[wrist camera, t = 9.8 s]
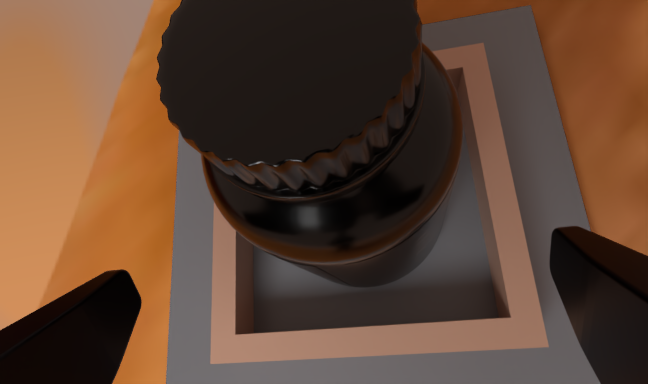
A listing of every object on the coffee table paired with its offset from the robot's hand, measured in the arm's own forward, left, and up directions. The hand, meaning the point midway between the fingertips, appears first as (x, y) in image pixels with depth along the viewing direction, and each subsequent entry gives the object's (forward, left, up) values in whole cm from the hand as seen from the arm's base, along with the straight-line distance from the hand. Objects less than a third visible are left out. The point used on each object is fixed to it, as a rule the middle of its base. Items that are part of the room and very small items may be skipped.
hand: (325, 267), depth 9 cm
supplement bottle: (+4, 0, -9) cm, 10 cm away
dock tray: (+4, 0, -10) cm, 10 cm away
